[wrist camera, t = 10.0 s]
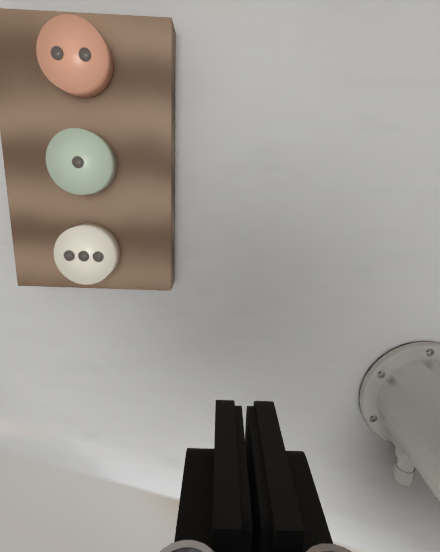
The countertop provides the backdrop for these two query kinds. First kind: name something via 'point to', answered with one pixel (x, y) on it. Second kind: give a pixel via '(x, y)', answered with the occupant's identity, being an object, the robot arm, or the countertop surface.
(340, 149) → the countertop surface
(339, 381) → the countertop surface
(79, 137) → the sage button
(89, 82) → the terracotta button
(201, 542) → the robot arm
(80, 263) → the cream button
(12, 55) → the button board
